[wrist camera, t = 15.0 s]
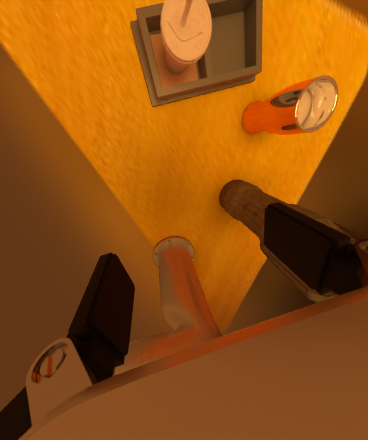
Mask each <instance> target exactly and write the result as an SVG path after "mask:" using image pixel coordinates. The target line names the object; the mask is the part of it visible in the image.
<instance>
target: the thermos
mask: <svg viewBox="0 0 368 440" xmlns="http://www.w3.org/2000/svg"><path fill="white" fill-rule="evenodd" d="M276 202H279V203H282V204H284V205H286V206H288V207H290V208H292V209H294V210H296V211H298V212H300V213H302V214H304V215H306V216H308V217H310V218H312V219H314V220H316V221H318V222H321V223H323V224H325V225H327V226H329V227H331V228H333V229H335V230H337V231H339V232H341V233H343V234H345V235H347V236H349V237H351V239H350V243H352V244H354V243H355V241H357V240H359V239H365V238H368V237H365V236H363V235H361V234H358V233H356V232H354V231H351V230H349V229H347V228H344V227H342V226H340V225H338V224H336V223H334V222H332V221H331V220H329V219H328V218H326V217H324V216H321V215H319V214H317V213H314V212H312V211H310V210H308V209H306V208H303V207H301V206H299V205H295V204H287V203H285V202H283V201H281V200H279V199H277V198H274V197H272V196H270V195H268V194H266V193H264V192H263V191H262V190H261V189H260V188H258V187H257V186H255V185H252V184H250V183H248V182H244V181H241V180H233V181H231V182H229V183H227V184H226V185H225V186H224V187H223V189H222V190H221V193H220V203H221V205H222V206H223V208H224V209H225V210H226V211H227V212H228V213H229V214H230V215H231V216H232V217H233V218H235V219H237V220H239V221H241V222H242V223H243V224H244V225H246V226H247V227H248V228H249V229H250V230H251V231H252V232H253V233H254V234H256V235H257V236H258V237H259V239H260V241H261V243H260V248H261V250H262V252H263V253H264V254H265V255H266V256H267V258H268V259H269V260H270V261H271V262H272V263H273V264H274V265H275V266H276V267H277V268H278V269H279V270H280V271H281V272H282V273H283V274H284V275H285V276H286V277H287V278H288V279H289V280H290V281H291V282H292V283H293V284H294V285H295V286H296V287H297V288H298V289H299V290H300V291H301V292H302V293H303V294H304V295H305V296H306V297H307V298H308V299H310V300H313V301H315V302H317V303H319V302H322V301H325V300H327V299H330V298H333V297H336V293H335V292H333V291H332V290H331V292H329V293H326V294H323V295H320V294H319V293H318V292H317V291H316V290H312V289H311V288H309V287H308V286H307V285H306V284H305V283H304V282H303V281H302V280H301V279H300V278H299V277H298V276H296V275H295V274H294V273H293V272H292V271H291V270H290V269H289V268H288V267H287V266H286V265H285V264H284V263H282V262H281V261H280V260H279V259H278V258H277V257H276V256H275V255H274V254H273V253H272V252H271V251H270V250H268V249H267V248H266V247H265V245H264V217H265V208H267V205H269V204H272V203H276Z"/></svg>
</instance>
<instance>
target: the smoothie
mask: <svg viewBox="0 0 368 440" xmlns="http://www.w3.org/2000/svg"><path fill="white" fill-rule="evenodd" d="M160 27H161V36H162V39H163V43H164V49H165V61H166V66H167V68H168V70H169V71H170V72H171V73H172V74H174V75H179V74H181V73H182V72H183V71H184V70H185V69H186V68H187V67H188V66H189V65H190V64H192V63H194V62H196V61H198V60H199V59H200V58H201V57H202V56H203V54H204V53H205V51H206V49H207V47H208V44H209V42H210V38H211V32H212V19H211V13H210V9H209V6H208V4H207V2H206V0H165V1H164V4H163V8H162V13H161V21H160Z"/></svg>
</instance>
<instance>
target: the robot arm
mask: <svg viewBox="0 0 368 440" xmlns="http://www.w3.org/2000/svg"><path fill="white" fill-rule="evenodd" d="M350 239H351V237H349V236H347V235H345V234H343V233H341V232H339V231H337V230H335V229H333V228H331V227H329V226H327V225H325V224H323V223H321V222H318V221H316V220H314V219H312V218H310V217H308V216H306V215H304V214H302V213H300V212H298V211H296V210H294V209H292V208H290V207H288V206H286V205H284V204H282V203H279V202H276V203H272V204H269V205H267V208H265V217H264V245H265V247H266V248H267V249H268V250H270V251H271V252H272V253H273V254H274V255H275V256H276V257H277V258H278V259H279V260H280V261H281V262H282V263H284V264H285V265H286V266H287V267H288V268H289V269H290V270H291V271H292V272H293V273H294V274H295V275H296V276H298V277H299V278H300V279H301V280H302V281H303V282H304V283H305V284H306V285H307V286H308V287H309V288H311V289H312V290H316V291H317V292H318V293H319V294H320V295H323V294H326V293H329V292H331V290H332V291H333V292H335V293H336V297H333V298H330V299H327V300H325V301H322V302H319V303H316V304H313V305H310V306H307V307H304V308H301V309H299V310H296V311H293V312H290V313H287V314H285V315H281V316H278V317H276V318H273V319H270V320H267V321H264V322H261V323H259V324H256V325H253V326H250V327H247V328H245V329H242V330H239V331H236V332H233V333H230V334H227V335H225V336H223V335H222V333H221V331H220V330H219V328H218V326H217V324H216V322H215V320H214V318H213V316H212V314H211V311H210V309H209V306H208V304H207V301H206V298H205V295H204V292H203V290H202V287H201V284H200V281H199V278H198V275H197V272H196V270H195V267H194V264H193V261H192V259H193V257H194V248H193V246H192V244H191V243H190V242H189V241H188V240H187V239H185V238H182V237H169V238H166V239H164V240H162V241H160V242H159V243H158V244H157V245H156V247H155V248H154V250H153V261H154V263H155V265H156V266H158V268H159V278H160V292H161V307H162V312H163V315H164V317H165V319H166V320H167V322H168V323H169V324H170V325H171V327H172V328H173V329H174V330H172V331H169V332H166V333H161V334H157V335H153V336H150V337H146V338H142V339H139V340H136V341H133V342H131V343H129V341H130V331H131V330H130V329H131V320H132V312H133V302H134V291H135V288H134V284H133V282H132V280H131V278H130V277H129V275H128V273H127V272H126V270H125V268H124V267H123V265H122V263H121V262H120V260H119V258H118V256H117V255H116V254H114V255H113V254H112V253H108V254H105V255H102V256H100V258H99V260H98V263H97V265H96V267H95V270H94V272H93V274H92V277H91V279H90V281H89V284H88V286H87V288H86V291H85V293H84V295H83V298H82V300H81V302H80V305H79V307H78V309H77V312H76V314H75V317H74V319H73V321H72V323H71V326H70V328H69V333H68V335H67V337H66V338H62V339H58V340H57V341H55V342H53V343H51V344H50V345H49V346H48V347H46V348H45V349H44V350H43V351H42V352H41V353H40V354H39V356H38V357H37V358H36V360H35V361H34V363H33V364H32V366H31V367H30V369H29V372H28V374H27V377H26V387H25V388H24V389H23V390H22V391H21V392H20V393H19V394H18V395H17V396H16V397H15V398H14V399H13V400H12V401H11V402H10V403H9V404H8V405H7V406H6V407H5V408H4V409H3V410H2V411H1V412H0V440H368V238H365V239H359V240H357V241H355V243H354V244H352V243H350ZM115 367H116V372H115V376H112V375H113V371H114V368H115Z"/></svg>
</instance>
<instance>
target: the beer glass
mask: <svg viewBox="0 0 368 440" xmlns="http://www.w3.org/2000/svg"><path fill="white" fill-rule="evenodd" d="M337 99H338V87H337V84H336V82H335V80H334V79H333V78H332V77H330V76H320V77H317V78H313V79H309V80H306V81H302V82H299V83H296V84H293V85H291V86H289V87H286V88H285V89H283V90H281V91H279V92H278V93H276V94H275V95H273V96H272V97H270V98H269V99H267V100H265V101H257V102H253V103H251V104H250V105H249V106H248V107H247V108H246V110H245V111H244V114H243V118H242V124H243V128H244V129H245V131H246V132H248V133H250V134H255V133H258V132H260V131H265V132H269V133H273V134H279V135H291V134H300V133H306V132H313V131H316V130H318V129H319V128H321V127H322V126H323V125H324V124H325V123H326V122H327V121H328V120H329V118H330V117H331V115H332V113H333V111H334V109H335V107H336V104H337Z"/></svg>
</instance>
